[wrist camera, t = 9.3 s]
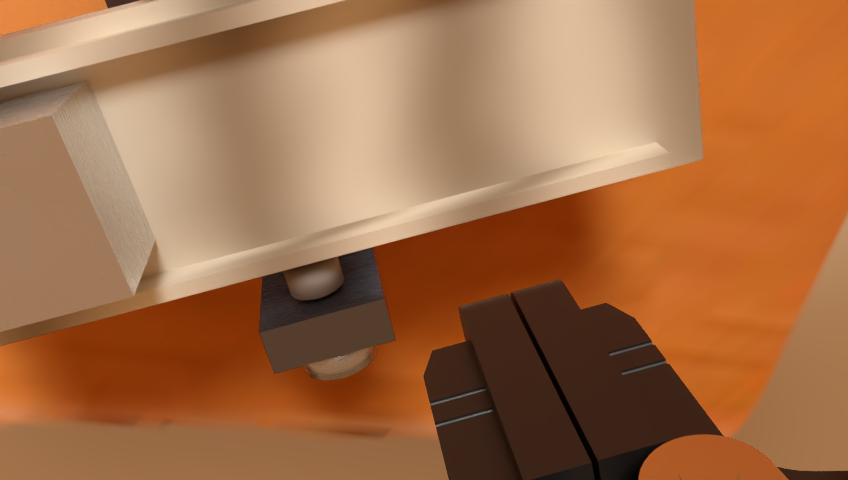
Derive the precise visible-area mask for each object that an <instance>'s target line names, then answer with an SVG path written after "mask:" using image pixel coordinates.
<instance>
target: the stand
mask: <svg viewBox="0 0 848 480" xmlns="http://www.w3.org/2000/svg"><path fill="white" fill-rule="evenodd" d="M105 1H106V4H107V6H108V9H109V8H113V7H116V6H120V5H124V4H128V3H132V2H136V1H140V0H105ZM338 259H339V262H340V266H341V269H342V272H343V275H344V282H343V283H342V285H341V286H340V287H339V288H338V289H337V290H335V291H334V292H332V293H330V294H329V295H326V296H324V297H321V298H318V299H313V300H299V299H296V298H294V297H293V296H292V295H291V293H290V290H289V287H288V284H287V281H286V278H285V275H284V273H283V271H281V272H278V273H274V274H270V275H266V276H263V278H262V294H261V311H260V327H259V334H260V337H261V339H262V342H263V344H264V347H265V350H266V352H267V355H268V358H269V360H270V363H271V366H272V368H273V371H274V373H275V374H276V373H279V372H283V371H286V370H290V369H294V368H297V367H301V366H303V367H304V369H305V372H306V373H307V374H308V375H309V376H311V377H312V378H315V379H318V380H336V379H341V378H345V377H348V376H350V375H353V374H355V373H357V372H359V371H360V370H362V369H363V368H365V367H366V366H367V365H368V364H370V362H371V361H372V360H373V359H374V357H375V356H376V353H377V345H380V344H384V343H388V342H391V341H395V335H394V331H393V327H392V322H391V318H390V314H389V309H388V305H387V301H386V296H385V292H384V288H383V283H382V279H381V275H380V270H379V266H378V262H377V257H376V253H375V249H374V247H372V248H368V249H364V250H360V251H357V252H353V253H349V254H345V255H342V256H338Z"/></svg>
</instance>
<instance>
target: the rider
mask: <svg viewBox="0 0 848 480" xmlns="http://www.w3.org/2000/svg"><path fill="white" fill-rule="evenodd" d="M155 240H156V239H155V237H154V234H153V232H152V230H151V227H150V225H149V223H148V220H147V218H146V215H145V213H144V211H143V208H142V206H141V204H140V201H139V199H138V197H137V194H136V192H135V189H134V187H133V185H132V182H131V180H130V178H129V175H128V173H127V171H126V168H125V166H124V163H123V161H122V159H121V156H120V154H119V152H118V149H117V147H116V144H115V142H114V140H113V137H112V135H111V133H110V130H109V128H108V126H107V123H106V121H105V118H104V116H103V114H102V111H101V109H100V107H99V104H98V102H97V100H96V97H95V95H94V92H93V90H92V88H91V85H90V83H89V81H88V79H86V80H82V81H78V82H74V83H70V84H66V85H63V86H59V87H55V88H51V89H47V90H43V91H39V92H35V93H31V94H27V95H23V96H19V97H15V98H11V99H7V100H3V101H0V332H2V331H6V330H9V329H13V328H17V327H21V326H25V325H28V324H32V323H36V322H40V321H44V320H47V319H51V318H55V317H59V316H63V315H66V314H70V313H74V312H78V311H82V310H85V309H89V308H93V307H97V306H100V305H104V304H108V303H112V302H116V301H119V300H123V299H127V298H131V297H134V295H135V292H136V290H137V287H138V285H139V282H140V279H141V277H142V274H143V271H144V269H145V266H146V264H147V261H148V258H149V256H150V253H151V251H152V248H153V245H154V243H155Z"/></svg>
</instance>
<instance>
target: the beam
mask: <svg viewBox="0 0 848 480" xmlns="http://www.w3.org/2000/svg"><path fill="white" fill-rule="evenodd" d="M86 79H88V81H89V83H90V85H91V88H92V90H93V92H94V95H95V97H96V100H97V102H98V104H99V107H100V109H101V111H102V114H103V116H104V118H105V121H106V123H107V126H108V128H109V130H110V133H111V135H112V137H113V140H114V142H115V144H116V147H117V149H118V152H119V154H120V156H121V159H122V161H123V163H124V166H125V168H126V171H127V173H128V175H129V178H130V180H131V182H132V185H133V187H134V189H135V192H136V194H137V197H138V199H139V201H140V204H141V206H142V208H143V211H144V213H145V215H146V218H147V220H148V223H149V225H150V227H151V230H152V232H153V234H154V237H155V239H156V240H155V243H154V245H153V248H152V251H151V253H150V256H149V258H148V261H147V264H146V266H145V269H144V271H143V274H142V277H141V279H140V282H139V285H138V287H137V290H136V292H135V295H134V297H131V298H127V299H123V300H119V301H116V302H112V303H108V304H104V305H100V306H97V307H93V308H89V309H85V310H82V311H78V312H74V313H70V314H66V315H63V316H59V317H55V318H51V319H47V320H44V321H40V322H36V323H32V324H28V325H25V326H21V327H17V328H13V329H9V330H6V331H2V332H0V346H3V345H6V344H10V343H14V342H18V341H22V340H25V339H29V338H33V337H37V336H40V335H44V334H48V333H52V332H55V331H59V330H63V329H67V328H70V327H74V326H78V325H82V324H86V323H89V322H93V321H97V320H101V319H104V318H108V317H112V316H116V315H119V314H123V313H127V312H131V311H134V310H138V309H142V308H146V307H150V306H153V305H157V304H161V303H165V302H168V301H172V300H176V299H180V298H183V297H187V296H191V295H195V294H198V293H202V292H206V291H210V290H214V289H217V288H221V287H225V286H229V285H232V284H236V283H240V282H244V281H247V280H251V279H255V278H259V277H263V276H266V275H270V274H274V273H278V272H281V271H283V273H284V275H285V278H286V281H287V284H288V287H289V290H290V293H291V295H292V296H293V297H294V298H296V299H299V300H313V299H318V298H321V297H324V296H326V295H329V294H330V293H332V292H334V291H335V290H337V289H338V288H339V287H340V286H341V285H342V283H343V282H344V275H343V272H342V269H341V266H340V262H339V259H338V256H342V255H345V254H349V253H353V252H357V251H360V250H364V249H368V248H372V247H375V246H379V245H383V244H387V243H391V242H394V241H398V240H402V239H406V238H409V237H413V236H417V235H421V234H424V233H428V232H432V231H436V230H439V229H443V228H447V227H451V226H455V225H458V224H462V223H466V222H470V221H473V220H477V219H481V218H485V217H488V216H492V215H496V214H500V213H503V212H507V211H511V210H515V209H519V208H522V207H526V206H530V205H534V204H537V203H541V202H545V201H549V200H552V199H556V198H560V197H564V196H568V195H571V194H575V193H579V192H583V191H586V190H590V189H594V188H598V187H601V186H605V185H609V184H613V183H616V182H620V181H624V180H628V179H632V178H635V177H639V176H643V175H647V174H650V173H654V172H658V171H662V170H665V169H669V168H673V167H677V166H680V165H684V164H688V163H692V162H696V161H699V160H703V143H702V126H701V109H700V92H699V75H698V59H697V42H696V25H695V8H694V0H140V1H136V2H132V3H128V4H124V5H120V6H116V7H113V8H109V9H105V10H101V11H97V12H93V13H89V14H85V15H81V16H77V17H73V18H69V19H65V20H61V21H57V22H53V23H49V24H45V25H41V26H37V27H33V28H29V29H25V30H21V31H17V32H13V33H9V34H5V35H1V36H0V101H3V100H7V99H11V98H15V97H19V96H23V95H27V94H31V93H35V92H39V91H43V90H47V89H51V88H55V87H59V86H63V85H66V84H70V83H74V82H78V81H82V80H86Z"/></svg>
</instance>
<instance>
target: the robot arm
mask: <svg viewBox="0 0 848 480" xmlns="http://www.w3.org/2000/svg"><path fill="white" fill-rule="evenodd" d="M459 314H460V319H461V323H462V327H463V331H464V336H465V340H466V342H462V343H459V344H455V345H451V346H448V347H444V348H440V349H437V350H433V351H432V354H431V356H430V359H429V362H428V365H427V368H426V371H425V373H424V376H423V377H424V381H425V385H426V389H427V393H428V397H429V401H430V405H431V409H432V413H433V417H434V421H435V425H436V429H437V433H438V437H439V441H440V445H441V449H442V453H443V457H444V461H445V465H446V469H447V474H448V478H449V480H848V471H813V472H812V471H797V470H790V469H784V468H780V467H776V465H774V463H772V461H771V460H770V459H768V457H766V456H765V455H764V454H763V453H761V452H760V451H759V450H757V449H756V448H754V447H753V446H750V445H748V444H746V443H744V442H742V441H739V440H736V439H733V438H729V437H725V436H723V435H722V434H721V432H720V431H719V430H718V428H717V427H716V426H715V424H714V423H713V422H712V420H711V419H710V418H709V416H708V415H707V414H706V412H705V411H704V410H703V408H702V407H701V406H700V404H699V403H698V402H697V400H696V399H695V398H694V396H693V395H692V394H691V392H690V391H689V390H688V388H687V387H686V386H685V384H684V383H683V382H682V380H681V379H680V378H679V376H678V375H677V374H676V372H675V371H674V370H673V368H672V367H671V366H670V364H667V363H666V360H665V358H664V356H663V355H662V354H661V353H660V351H659V350H658V349H657V347H656V346H655V345H653V344H652V341H651V339H650V338H649V337H648V335H647V334H646V333H645V331H644V330H643V329H642V327H641V326H640V325H639V323H638V322H637V321H636V319H635V318H633V317H632V316H630V315H628V314H626V313H624V312H622V311H620V310H618V309H617V308H615V307H613V306H611V305H609V304H607V303H604V304H600V305H597V306H593V307H589V308H586V309H582V310H580V308H579V306H578V305H577V303H576V302H575V300H574V299H573V297H572V296H571V294H570V292H569V291H568V289H567V288H566V286H565V285H564V283H563V282H562V281H561V280H556V281H552V282H548V283H545V284H541V285H537V286H534V287H530V288H526V289H523V290H519V291H515V292H512V293H511V294H510V297H509V295H508V294H505V295H501V296H498V297H494V298H490V299H487V300H483V301H479V302H476V303H472V304H468V305H465V306H461V307H459Z"/></svg>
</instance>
